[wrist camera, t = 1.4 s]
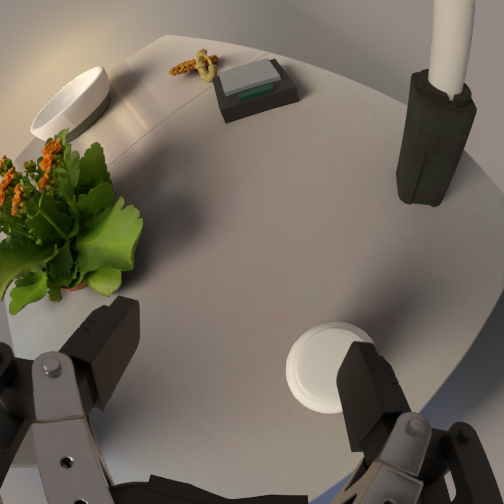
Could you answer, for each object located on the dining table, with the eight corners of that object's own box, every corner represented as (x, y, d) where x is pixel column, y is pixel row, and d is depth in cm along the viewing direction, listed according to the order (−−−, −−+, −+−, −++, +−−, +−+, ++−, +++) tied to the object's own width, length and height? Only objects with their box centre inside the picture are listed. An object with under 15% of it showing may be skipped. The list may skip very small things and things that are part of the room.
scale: (278, 70, 42) (274, 54, 39) (299, 101, 37) (295, 82, 34) (216, 89, 44) (210, 74, 41) (225, 123, 39) (218, 106, 36)
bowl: (115, 80, 62) (100, 58, 54) (125, 106, 51) (106, 78, 43) (52, 129, 61) (35, 110, 54) (47, 169, 50) (24, 147, 43)
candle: (398, 203, 27) (427, -57, 5) (395, 166, 29) (405, -61, 7) (442, 208, 25) (506, -30, 3) (435, 171, 27) (472, -44, 5)
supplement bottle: (338, 326, 23) (345, 289, 15) (376, 375, 21) (409, 371, 12) (285, 365, 23) (257, 353, 14) (322, 416, 20) (318, 440, 12)
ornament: (158, 59, 47) (180, 56, 37) (204, 44, 50) (236, 41, 40) (167, 86, 52) (190, 92, 42) (211, 71, 55) (244, 75, 45)
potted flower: (48, 378, 28) (-65, 344, 13) (23, 258, 39) (-48, 210, 24) (181, 258, 30) (70, 148, 15) (118, 161, 42) (56, 84, 27)
